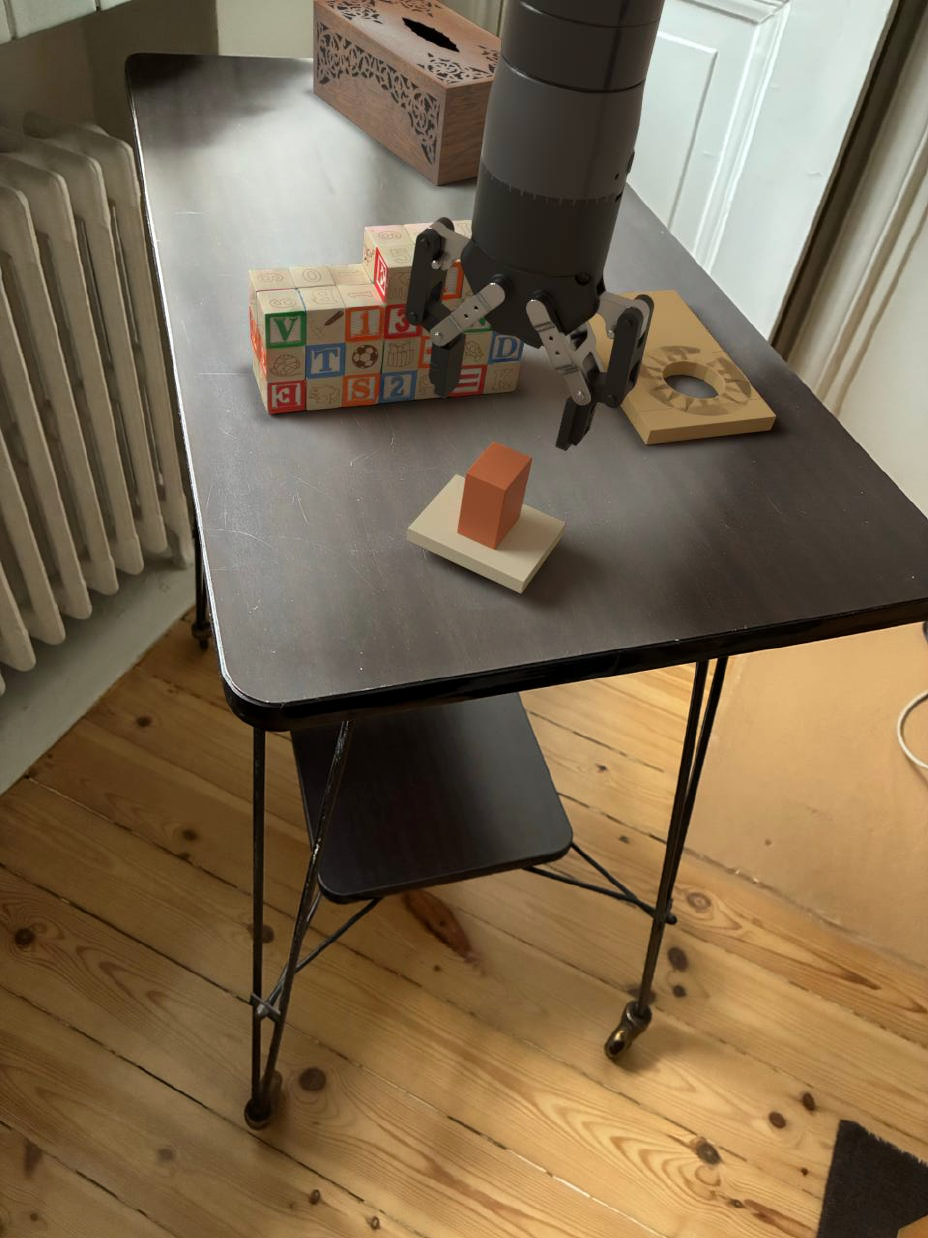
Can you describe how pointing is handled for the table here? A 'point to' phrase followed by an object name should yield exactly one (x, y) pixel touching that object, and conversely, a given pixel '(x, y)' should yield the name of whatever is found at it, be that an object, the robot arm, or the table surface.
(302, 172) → the table surface
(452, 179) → the tissue box cover
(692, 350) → the base pad
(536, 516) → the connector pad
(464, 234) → the stack of blocks
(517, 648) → the table surface
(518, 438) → the table surface
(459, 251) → the robot arm
